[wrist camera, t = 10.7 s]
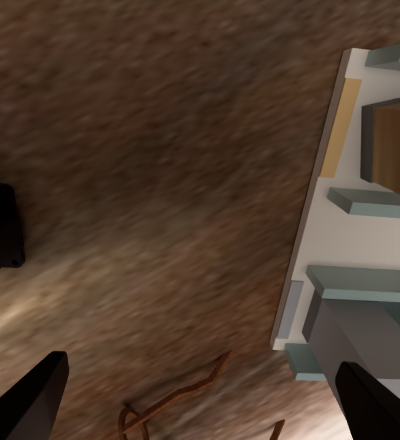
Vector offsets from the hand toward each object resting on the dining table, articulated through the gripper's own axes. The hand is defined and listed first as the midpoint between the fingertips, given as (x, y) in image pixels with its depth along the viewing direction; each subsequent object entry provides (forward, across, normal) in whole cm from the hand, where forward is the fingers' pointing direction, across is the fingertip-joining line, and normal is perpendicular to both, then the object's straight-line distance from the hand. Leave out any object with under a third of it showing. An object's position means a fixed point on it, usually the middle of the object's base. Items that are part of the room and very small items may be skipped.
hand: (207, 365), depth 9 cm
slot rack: (+13, -12, 0) cm, 18 cm away
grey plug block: (+12, -12, +8) cm, 19 cm away
